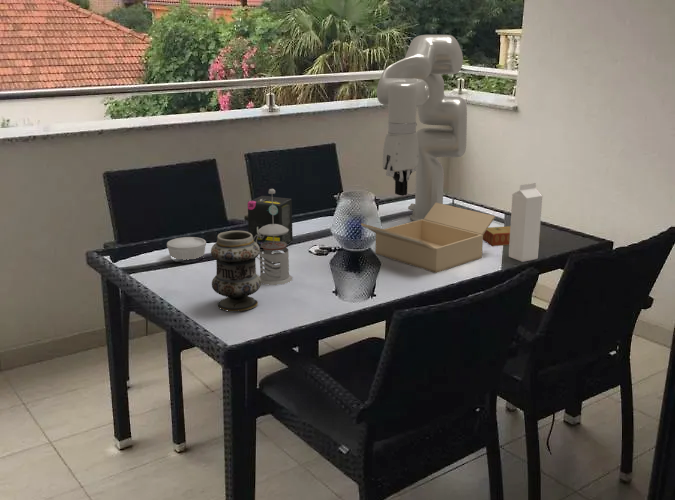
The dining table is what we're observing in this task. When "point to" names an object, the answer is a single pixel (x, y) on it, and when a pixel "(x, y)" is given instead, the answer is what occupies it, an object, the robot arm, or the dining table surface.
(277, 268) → the french press
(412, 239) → the near flap
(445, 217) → the far flap
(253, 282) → the apothecary jar
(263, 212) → the tampon box
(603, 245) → the dining table surface
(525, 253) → the milk
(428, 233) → the kraft box
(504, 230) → the carton
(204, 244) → the ramekin
